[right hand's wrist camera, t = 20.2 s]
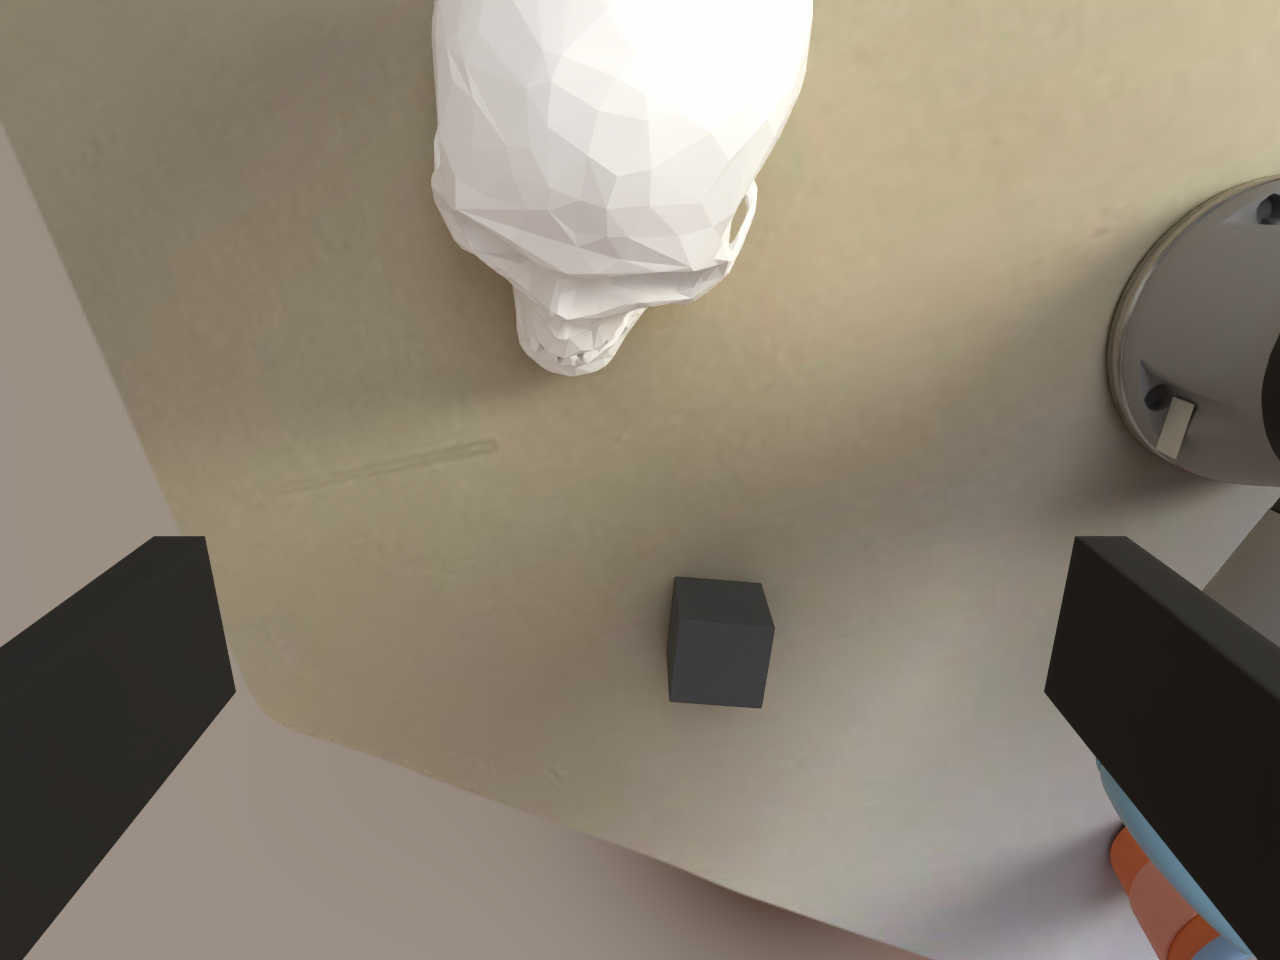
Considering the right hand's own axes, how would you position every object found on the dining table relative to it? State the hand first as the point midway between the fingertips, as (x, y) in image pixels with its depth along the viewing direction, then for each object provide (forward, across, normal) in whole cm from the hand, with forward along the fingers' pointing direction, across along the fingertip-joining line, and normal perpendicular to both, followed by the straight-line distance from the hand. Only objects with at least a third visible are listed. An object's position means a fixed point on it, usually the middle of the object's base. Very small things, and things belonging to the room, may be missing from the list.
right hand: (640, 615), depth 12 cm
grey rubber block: (+31, +4, -18) cm, 36 cm away
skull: (+31, -1, +8) cm, 32 cm away
